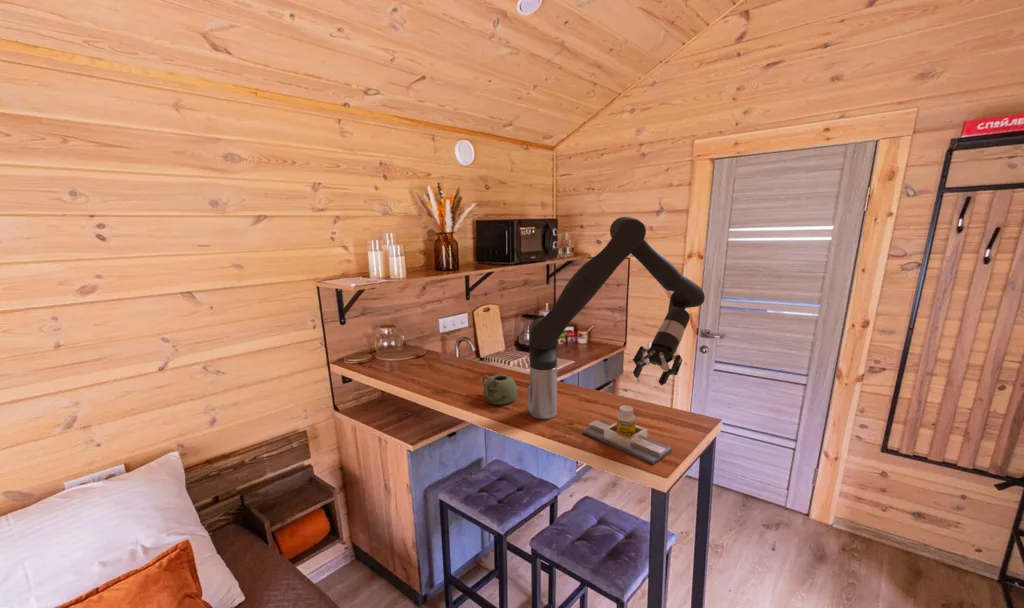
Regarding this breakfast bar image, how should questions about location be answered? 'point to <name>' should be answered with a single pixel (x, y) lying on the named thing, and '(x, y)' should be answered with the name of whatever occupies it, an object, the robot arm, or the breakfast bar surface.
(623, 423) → the supplement bottle
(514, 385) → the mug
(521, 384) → the breakfast bar surface
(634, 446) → the rail collar
